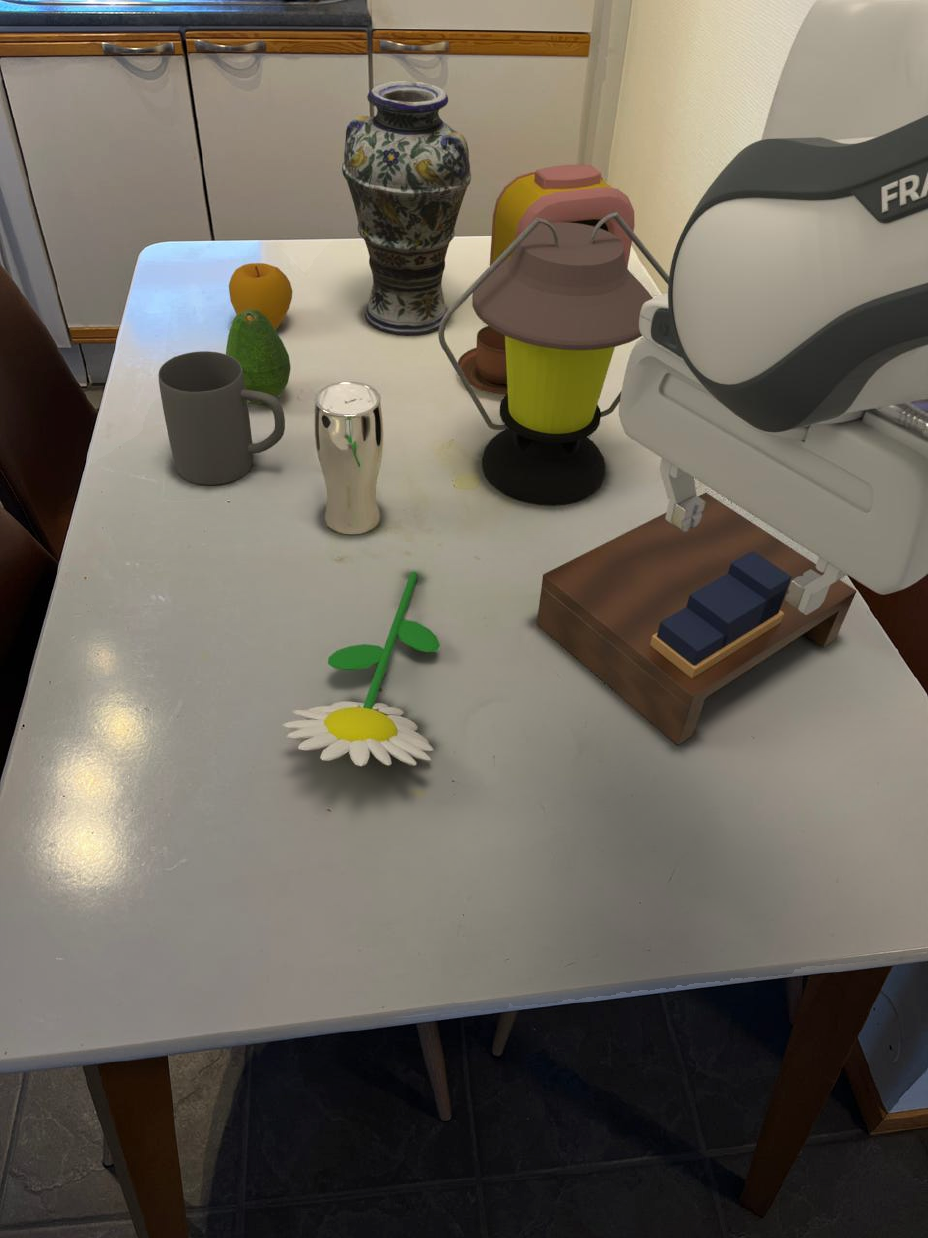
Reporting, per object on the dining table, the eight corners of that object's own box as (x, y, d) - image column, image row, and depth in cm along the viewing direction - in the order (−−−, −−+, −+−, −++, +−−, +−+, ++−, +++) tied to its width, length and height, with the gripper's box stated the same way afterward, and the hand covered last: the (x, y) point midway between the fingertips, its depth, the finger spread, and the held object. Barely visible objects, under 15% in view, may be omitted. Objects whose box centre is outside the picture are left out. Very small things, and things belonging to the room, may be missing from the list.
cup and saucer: (470, 351, 135) (472, 309, 131) (554, 366, 133) (559, 324, 129) (446, 393, 127) (447, 349, 122) (535, 409, 125) (540, 366, 120)
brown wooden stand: (835, 639, 96) (857, 590, 92) (677, 746, 85) (693, 696, 81) (693, 540, 107) (705, 492, 102) (536, 623, 96) (542, 574, 91)
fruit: (217, 402, 122) (204, 313, 114) (259, 377, 127) (250, 290, 119) (264, 423, 119) (254, 333, 111) (306, 397, 124) (299, 308, 116)
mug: (161, 480, 110) (142, 386, 102) (192, 436, 117) (177, 345, 108) (276, 498, 109) (266, 404, 100) (301, 453, 115) (294, 362, 107)
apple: (296, 313, 141) (292, 253, 135) (292, 341, 135) (287, 280, 129) (237, 312, 140) (230, 252, 134) (230, 340, 134) (222, 279, 128)
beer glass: (311, 531, 105) (302, 410, 94) (332, 494, 110) (325, 375, 99) (374, 542, 104) (371, 421, 93) (391, 504, 109) (391, 386, 98)
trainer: (738, 592, 91) (753, 546, 87) (781, 622, 88) (798, 576, 84) (649, 645, 85) (661, 598, 81) (691, 679, 82) (706, 632, 78)
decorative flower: (352, 586, 102) (263, 791, 77) (355, 547, 99) (263, 747, 75) (471, 608, 101) (418, 821, 77) (477, 570, 98) (424, 779, 74)
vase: (369, 282, 149) (364, 65, 129) (477, 300, 147) (489, 81, 126) (330, 330, 138) (318, 100, 117) (447, 351, 135) (455, 118, 114)
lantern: (650, 438, 121) (702, 191, 100) (648, 531, 107) (708, 268, 87) (455, 413, 123) (467, 167, 102) (428, 502, 109) (435, 238, 89)
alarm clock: (512, 328, 141) (523, 191, 127) (483, 295, 148) (491, 162, 135) (624, 311, 146) (646, 178, 133) (591, 281, 153) (609, 151, 140)
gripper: (1026, 422, 45) (920, 638, 54) (696, 268, 56) (655, 468, 66) (951, 464, 42) (852, 685, 51) (619, 293, 53) (588, 499, 63)
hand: (739, 562), depth 59 cm, fingers open, 8 cm apart
